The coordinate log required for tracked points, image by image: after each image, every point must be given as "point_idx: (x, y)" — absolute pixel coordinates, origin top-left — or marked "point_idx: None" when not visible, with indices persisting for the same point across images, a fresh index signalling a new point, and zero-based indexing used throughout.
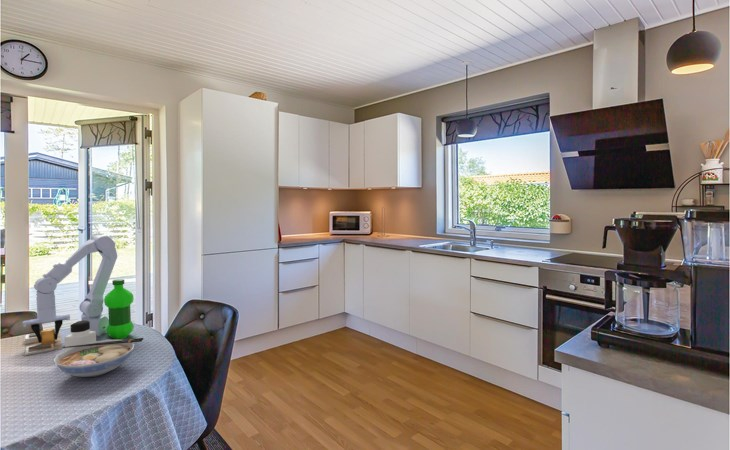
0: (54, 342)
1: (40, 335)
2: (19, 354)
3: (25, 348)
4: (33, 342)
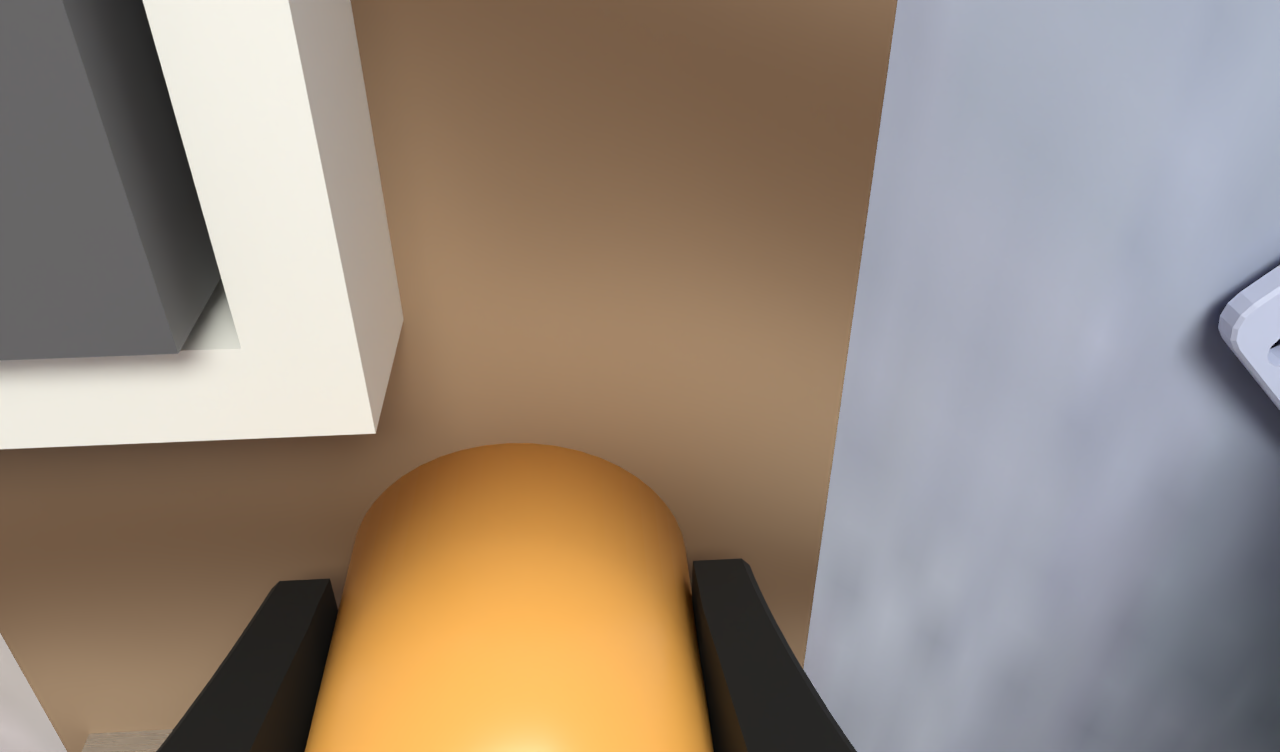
0: None
1: (192, 323)
2: (5, 667)
3: (53, 700)
4: None
